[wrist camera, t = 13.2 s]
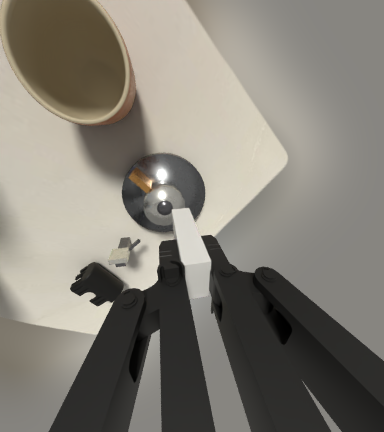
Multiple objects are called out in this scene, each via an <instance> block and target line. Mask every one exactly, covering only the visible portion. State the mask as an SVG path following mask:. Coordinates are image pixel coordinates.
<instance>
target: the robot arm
mask: <svg viewBox="0 0 384 432" xmlns="http://www.w3.org/2000/svg"><path fill="white" fill-rule="evenodd" d="M172 221H173V234H174V240H168V241H162V242H161V244H160V246H159V266H158V269H157V273H158V281H157V282H156V283H155V284H154V285H153V286H152V287H150V288H148V289H146V290H144V291H141V290H140V289H136V288H132V289H128V290H125V291H123V292H122V293H121V294H119V295H118V296H117V298H116V299H115V301H114V303H113V305H112V307H111V309H110V311H109V313H108V315H107V317H106V319H105V321H104V323H103V325H102V327H101V329H100V331H99V333H98V335H97V337H96V339H95V341H94V343H93V345H92V347H91V349H90V351H89V353H88V355H87V357H86V359H85V361H84V363H83V364H82V367H81V369H80V370H79V372H78V375H77V376H76V379H75V381H74V382H73V384H72V386H71V389H70V390H69V392H68V394H67V396H66V398H65V400H64V402H63V404H62V406H61V408H60V410H59V412H58V414H57V416H56V418H55V421H54V423H53V424H52V426H51V428H50V430H49V432H128V429H129V425H130V420H131V416H132V412H133V408H134V404H135V400H136V396H137V392H138V388H139V383H140V379H141V375H142V371H143V367H144V362H145V358H146V354H147V350H148V346H149V342H150V338H151V334H152V333H154V332H156V331H157V330H159V329H160V364H161V416H162V432H215V427H214V422H213V417H212V412H211V406H210V401H209V396H208V391H207V386H206V381H205V376H204V371H203V366H202V361H201V356H200V351H199V346H198V341H197V336H196V330H195V325H194V321H193V315H192V310H191V305H190V299H196V298H202V297H207V296H209V291H210V293H211V296H212V303H211V313H213V310H214V313H215V317H216V320H217V323H218V326H219V329H220V333H221V336H222V339H223V342H224V346H225V349H226V352H227V355H228V358H229V362H230V365H231V368H232V371H233V374H234V377H235V381H236V384H237V387H238V390H239V394H240V397H241V400H242V403H243V406H244V409H245V413H246V416H247V419H248V422H249V426H250V429H251V432H331V430H330V429H329V427H328V425H327V424H326V422H325V420H324V418H323V416H322V415H321V413H320V411H319V409H318V408H317V406H316V404H315V403H314V401H313V399H312V397H311V396H310V394H309V392H308V390H307V389H306V387H305V385H306V386H307V387H308V389H309V390H310V391H311V392H312V393H313V395H314V396H315V398H316V399H317V400H318V401H319V403H320V404H321V405H322V407H323V408H324V409H325V410H326V412H327V413H328V414H329V415H330V417H331V418H332V419H333V421H334V422H335V423H336V425H337V426H338V427H339V429H340V430H341V431H342V432H384V361H383V360H382V359H381V358H379V357H378V356H377V355H376V354H374V353H373V352H372V351H371V350H370V349H368V348H367V347H366V346H365V345H364V344H363V343H361V342H360V341H359V340H358V339H357V338H356V337H354V336H353V335H352V334H351V333H349V332H348V331H347V330H346V329H345V328H344V327H342V326H341V325H340V324H339V323H338V322H336V321H335V320H334V319H333V318H332V317H330V316H329V315H328V314H327V313H326V312H325V311H323V310H322V309H321V308H320V307H319V306H317V305H316V304H315V303H314V302H312V301H311V300H310V299H309V298H308V297H307V296H305V295H304V294H303V293H302V292H301V291H300V290H298V289H297V288H296V287H295V286H293V285H292V284H291V283H290V282H289V281H288V280H286V279H285V278H284V277H283V276H282V275H280V274H279V273H278V272H276V271H275V270H274V269H271V268H268V267H259V268H258V269H256V271H255V273H249V272H242V271H239V270H238V269H237V268H236V267H235V266H233V265H232V264H230V263H229V262H228V260H227V258H226V256H225V254H224V252H223V251H222V249H221V247H220V245H219V244H218V241H217V240H216V238H214V237H213V236H212V235H206V236H201V235H200V233H199V230H198V228H197V226H196V223H195V221H194V218H193V216H192V214H191V211H190V209H189V208H182V209H172ZM301 379H302V380H301ZM302 381H303V382H304V383H305V385H304V384H303V382H302Z"/></svg>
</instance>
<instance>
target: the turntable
mask: <svg viewBox="0 0 384 432" xmlns="http://www.w3.org/2000/svg"><path fill="white" fill-rule="evenodd" d="M157 181H169V182H171V183H173V184H175V185H176V186H177V187H178V189H179V190H180V192H181V194H182V197H183V199H184V201H185V208H189V209H190V211H191V214H192V216H193V218H194V219H195V218H196V217H197V216H198V214H199V213H200V211H201V209H202V207H203V204H204V200H205V186H204V182H203V180H202V177H201V175H200V174H199V172H198V171H197V169H196V168H195V167H194V166H193V165H192V164H191V163H190V162H188V161H187V160H186V159H184V158H182V157H180V156H177V155H174V154H170V153H156V154H152V155H148V156H146V157H144V158H142V159H141V160H139V161H138V162H137V163H135V164H134V165H133V167H132V168H131V169H130V170H129V172H128V174H127V175H126V177H125V180H124V183H123V187H122V198H123V203H124V206H125V208H126V210H127V212H128V213H129V215H130V216H131V217H132V218H133V219H134V220H135V221H136V222H137V223H138V224H140V225H141V226H143V227H145V228H147V229H150V230H154V231H159V232H168V231H173V224H171V225H166V226H162V225H157V224H154V223H153V222H151V221H150V220H149V219H148V218H147V217H146V215H145V213H144V209H143V205H144V197H145V192H146V193H148V192H149V191H150V190H151V186H152V184H153V183H155V182H157Z"/></svg>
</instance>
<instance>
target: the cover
mask: <svg viewBox="0 0 384 432" xmlns="http://www.w3.org/2000/svg"><path fill="white" fill-rule="evenodd" d="M182 208H185V201H184V199H183V197H182V194H181V192H180V190H179V189H178V187H177V186H176V185H175V184H173V183H171V182H169V181H157V182H155V183H153V184H152V186H151V190H150V191H149V192H148V193H146V192H145V197H144V205H143V209H144V213H145V215H146V217H147V218H148V219H149V220H150V221H151V222H153V223H154V224H157V225H162V226H166V225H171V224H173V221H172V209H182Z"/></svg>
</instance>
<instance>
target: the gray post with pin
mask: <svg viewBox="0 0 384 432" xmlns="http://www.w3.org/2000/svg"><path fill="white" fill-rule="evenodd" d="M138 243H140V240H139V239H138V240H136V241H135V242H134V243H133V244H132V245H131V242H130V237H128V238H121V240H120V244H119V247H118V249H112V251H111V254H110V257H109V259H108V262H109V265H112V264H115V265H116V267H121V266H126V263H127V262H128V259H129V254H130V250H131V249H133V248H134V247H135V246H136V245H137V244H138ZM130 245H131V246H130Z"/></svg>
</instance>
